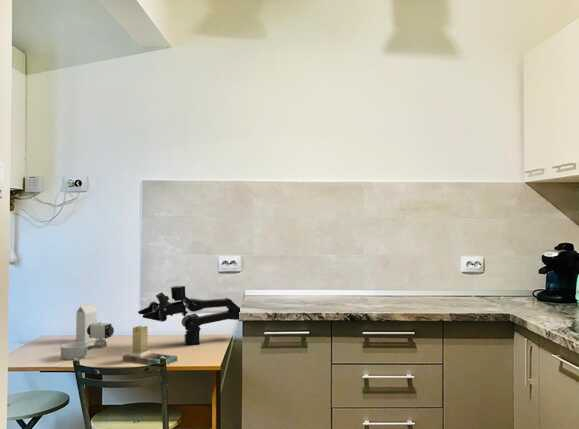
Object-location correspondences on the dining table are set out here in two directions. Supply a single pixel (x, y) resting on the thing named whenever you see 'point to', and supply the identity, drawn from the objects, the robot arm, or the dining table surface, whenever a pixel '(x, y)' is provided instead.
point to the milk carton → (85, 322)
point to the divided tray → (148, 358)
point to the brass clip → (139, 339)
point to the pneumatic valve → (100, 332)
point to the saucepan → (76, 350)
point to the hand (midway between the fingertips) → (140, 314)
